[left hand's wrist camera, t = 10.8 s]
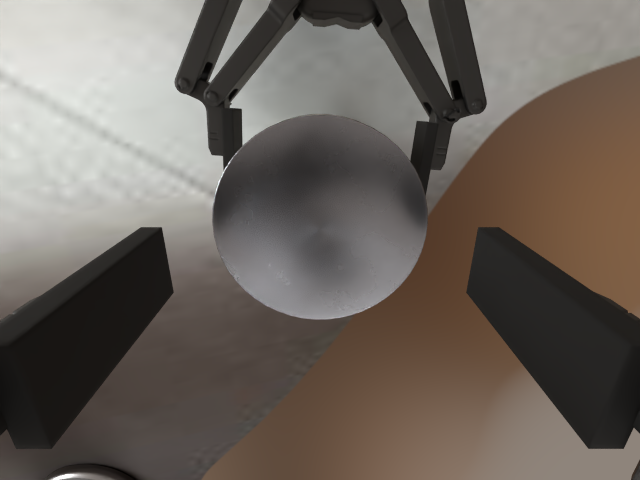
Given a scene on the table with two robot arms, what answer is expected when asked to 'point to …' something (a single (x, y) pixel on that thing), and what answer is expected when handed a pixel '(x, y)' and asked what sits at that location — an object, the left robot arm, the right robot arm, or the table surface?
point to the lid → (320, 216)
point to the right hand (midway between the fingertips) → (323, 206)
